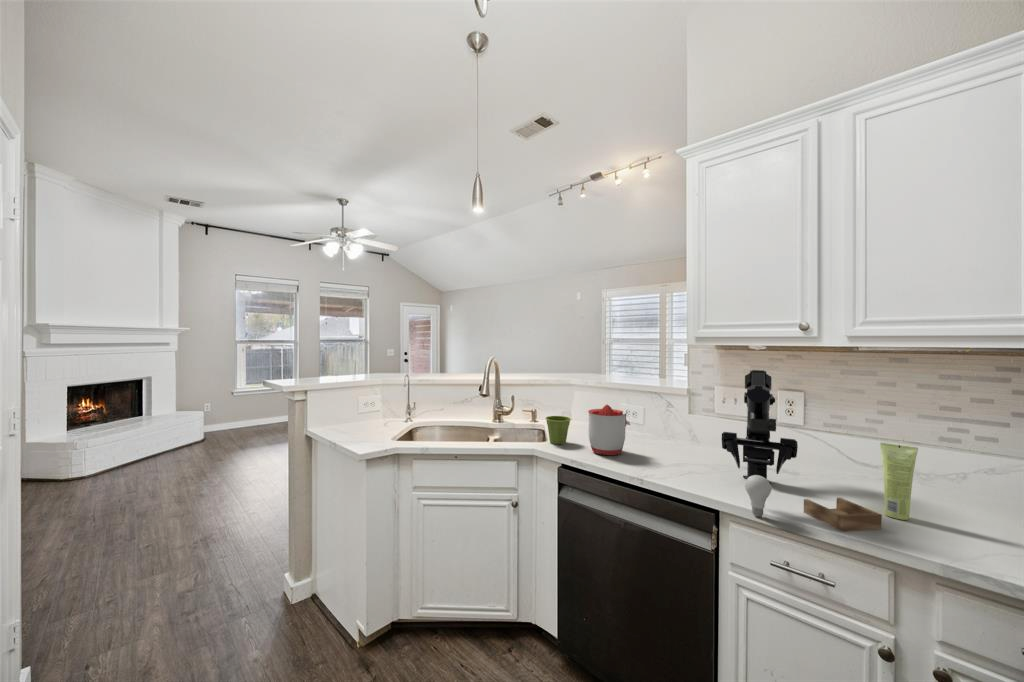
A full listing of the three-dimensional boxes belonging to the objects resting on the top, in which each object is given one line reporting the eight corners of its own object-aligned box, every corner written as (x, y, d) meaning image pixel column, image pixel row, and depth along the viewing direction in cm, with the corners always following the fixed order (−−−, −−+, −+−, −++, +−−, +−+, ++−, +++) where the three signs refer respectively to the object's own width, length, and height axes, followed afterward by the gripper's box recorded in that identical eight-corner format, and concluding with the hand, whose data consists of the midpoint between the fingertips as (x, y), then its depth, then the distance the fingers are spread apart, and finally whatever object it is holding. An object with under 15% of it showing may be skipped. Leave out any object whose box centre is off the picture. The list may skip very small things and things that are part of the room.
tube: (898, 512, 116) (899, 442, 115) (917, 520, 110) (918, 447, 110) (879, 512, 115) (880, 442, 115) (897, 521, 110) (898, 447, 110)
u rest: (803, 512, 115) (803, 499, 115) (840, 510, 117) (840, 497, 117) (841, 531, 104) (841, 516, 104) (881, 528, 105) (881, 514, 105)
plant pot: (542, 444, 186) (542, 419, 186) (547, 438, 197) (548, 415, 197) (568, 447, 182) (569, 421, 182) (572, 440, 194) (573, 416, 193)
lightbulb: (741, 516, 112) (741, 475, 112) (748, 509, 116) (749, 470, 116) (767, 523, 108) (767, 481, 108) (773, 516, 112) (774, 475, 112)
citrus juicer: (634, 457, 167) (635, 407, 167) (590, 457, 167) (591, 407, 167) (624, 447, 182) (625, 401, 182) (584, 447, 183) (585, 401, 183)
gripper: (722, 404, 125) (719, 449, 116) (797, 410, 116) (800, 459, 106) (723, 426, 132) (720, 470, 123) (794, 433, 123) (797, 482, 113)
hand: (757, 470), depth 116 cm, fingers open, 9 cm apart
